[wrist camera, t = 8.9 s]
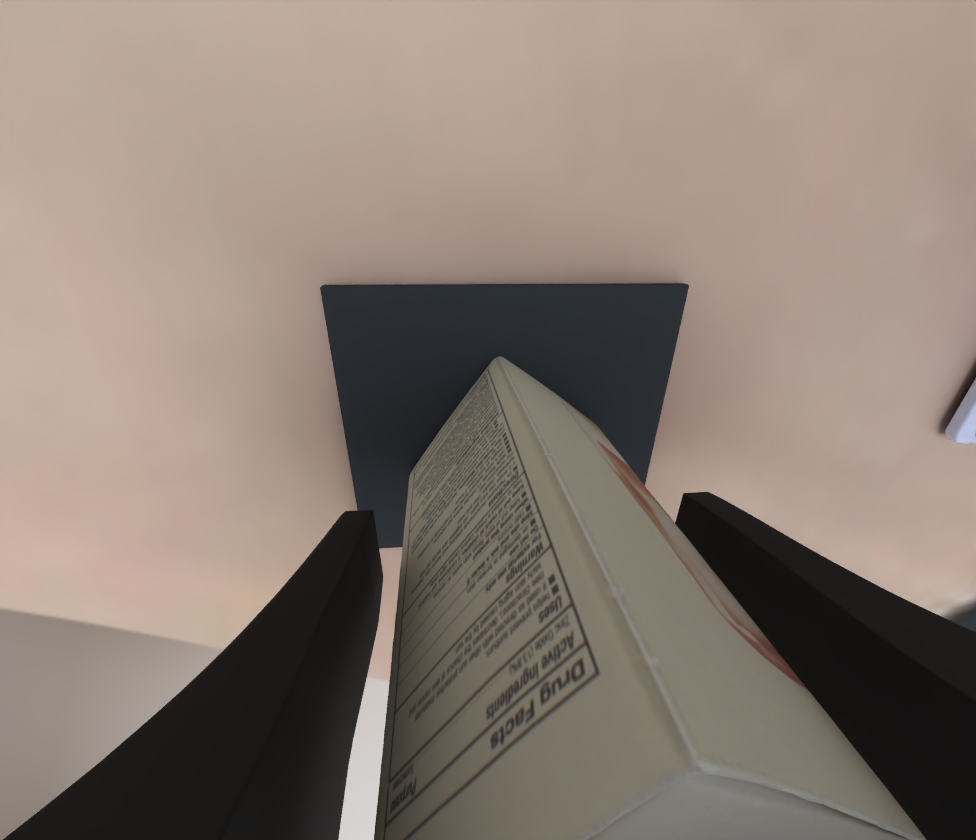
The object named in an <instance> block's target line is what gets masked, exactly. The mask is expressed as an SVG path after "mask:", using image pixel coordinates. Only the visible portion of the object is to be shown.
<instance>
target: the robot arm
mask: <svg viewBox="0 0 976 840" xmlns="http://www.w3.org/2000/svg"><path fill="white" fill-rule="evenodd" d="M945 434H946V437H947V438H948V439H949V440H952V441H954V442H956V443H960V444H968V443H976V378H975V380H974V382H973V383H972V385H971V387H970V389H969V390H968V392H967V394H966V395H965V397H964V399H963V401H962V402H961V404H960V406H959V407H958V409H957V411H956V413H955V414H954V416H953V418H952V419H951V421H950V423H949V425H948V426H947V428H946V431H945ZM675 524H676V525H677V527H678V528H679V529H680V530H681V531H682V533H683V534H684V535H685V536H686V538H687V539H688V540H689V541H690V542H691V544H692V545H693V546H694V548H695V549H696V550H697V551H698V553H699V554H700V555H701V556H702V558H703V559H704V560H705V561H706V563H707V564H708V565H709V566H710V568H711V569H712V570H713V571H714V573H715V574H716V575H717V576H718V578H719V579H720V580H721V581H722V583H723V584H724V585H725V586H726V588H727V589H728V590H729V591H730V593H731V594H732V595H733V596H734V598H735V599H736V600H737V601H738V603H739V604H740V605H741V606H742V608H743V609H744V610H745V611H746V613H747V614H748V615H749V616H750V618H751V619H752V620H753V621H754V623H755V624H756V625H757V626H758V628H759V629H760V630H761V631H762V633H763V634H764V635H765V637H766V638H767V639H768V640H769V642H770V643H771V644H772V645H773V647H774V648H775V649H776V650H777V652H778V653H779V654H780V655H781V657H782V658H783V659H784V660H785V662H786V663H787V664H788V665H789V667H790V668H791V669H792V670H793V672H794V673H795V674H796V675H797V677H798V678H799V679H800V680H801V682H802V683H803V684H804V686H805V687H806V688H807V689H808V691H809V692H810V693H811V694H812V695H813V697H814V698H815V699H816V700H817V702H818V703H819V704H820V705H821V707H822V708H823V709H824V710H825V711H826V713H827V714H828V715H829V716H830V718H831V719H832V720H833V722H834V723H835V724H836V725H837V727H838V728H839V729H840V730H841V732H842V733H843V734H844V736H845V737H846V738H847V739H848V741H849V742H850V743H851V744H852V746H853V747H854V748H855V749H856V751H857V752H858V753H859V754H860V756H861V757H862V758H863V759H864V761H865V762H866V763H867V764H868V766H869V767H870V768H871V769H872V771H873V772H874V773H875V774H876V776H877V777H878V778H879V779H880V781H881V782H882V783H883V784H884V786H885V787H886V788H887V789H888V791H889V792H890V793H891V794H892V796H893V797H894V798H895V800H896V801H897V802H898V803H899V805H900V806H901V807H902V809H903V810H904V811H905V812H906V814H907V815H908V816H909V818H910V819H911V820H912V821H913V823H914V824H915V825H916V827H917V828H918V829H919V830H920V832H921V833H922V834H923V836H924V837H925V839H926V840H976V632H974V631H971V630H969V629H967V628H965V627H962V626H960V625H958V624H956V623H954V622H952V621H949V620H947V619H945V618H943V617H941V616H939V615H937V614H935V613H932V612H930V611H928V610H926V609H924V608H922V607H920V606H918V605H915V604H913V603H911V602H909V601H907V600H905V599H903V598H901V597H899V596H897V595H895V594H893V593H891V592H889V591H887V590H885V589H883V588H881V587H879V586H877V585H875V584H873V583H871V582H870V581H868V580H866V579H864V578H862V577H860V576H858V575H856V574H854V573H852V572H851V571H849V570H847V569H845V568H843V567H841V566H839V565H838V564H836V563H834V562H832V561H830V560H828V559H827V558H825V557H823V556H821V555H819V554H818V553H816V552H814V551H812V550H811V549H809V548H807V547H805V546H803V545H802V544H800V543H798V542H796V541H795V540H793V539H791V538H789V537H788V536H786V535H784V534H783V533H781V532H779V531H777V530H776V529H774V528H772V527H770V526H769V525H767V524H765V523H764V522H762V521H760V520H758V519H757V518H755V517H753V516H752V515H750V514H748V513H746V512H745V511H743V510H741V509H739V508H738V507H736V506H734V505H732V504H730V503H729V502H727V501H725V500H723V499H721V498H719V497H717V496H715V495H713V494H711V493H709V492H698V493H684V494H683V497H682V501H681V504H680V508H679V512H678V515H677V519H676V522H675ZM382 584H383V572H382V565H381V558H380V552H379V545H378V538H377V531H376V524H375V518H374V511H373V510H361V511H345V512H344V513H343V514H342V515H341V516H340V517H339V519H338V520H337V521H336V522H335V524H334V525H333V526H332V528H331V529H330V530H329V531H328V533H327V534H326V535H325V537H324V538H323V539H322V540H321V542H320V543H319V544H318V545H317V547H316V548H315V549H314V550H313V552H312V553H311V554H310V555H309V557H308V558H307V559H306V560H305V561H304V563H303V564H302V565H301V566H300V567H299V569H298V570H297V571H296V572H295V573H294V574H293V576H292V577H291V578H290V579H289V580H288V582H287V583H286V584H285V585H284V586H283V587H282V589H281V590H280V591H279V592H278V593H277V594H276V595H275V597H274V598H273V599H272V600H271V601H270V602H269V603H268V604H267V605H266V606H265V607H264V608H263V610H262V611H261V612H260V613H259V614H258V615H257V616H256V617H255V618H254V619H253V620H252V621H251V622H250V624H249V625H248V626H247V627H246V628H245V629H244V630H243V631H242V632H241V633H240V634H239V635H238V636H237V637H236V638H235V639H234V640H233V641H232V642H231V643H230V644H229V645H228V646H227V647H226V648H225V650H224V651H223V652H222V653H221V654H220V655H218V656H217V657H216V659H214V660H213V661H212V662H211V663H210V664H209V665H208V666H207V667H206V668H205V669H204V670H203V671H202V672H201V673H200V674H199V675H198V676H197V677H196V678H195V679H194V680H192V682H190V683H189V684H188V685H187V686H186V687H185V688H184V689H183V690H182V691H181V692H180V693H179V694H177V695H176V696H175V697H174V698H173V699H172V700H171V701H170V702H169V703H167V704H166V705H165V706H164V707H163V708H162V709H161V710H159V711H158V712H157V713H156V714H155V715H154V716H153V717H152V718H151V719H150V720H148V721H147V722H146V723H145V724H144V725H143V726H141V727H140V728H139V729H138V730H137V731H136V732H135V733H133V734H132V735H131V736H130V737H129V738H127V739H126V740H125V741H124V742H123V743H122V744H121V745H120V746H118V747H117V748H116V749H115V750H114V751H112V752H111V753H110V754H109V755H108V756H107V757H106V758H105V759H103V760H102V761H101V762H100V763H98V764H97V765H96V766H95V767H94V768H92V769H91V770H90V771H89V772H87V773H86V774H85V775H84V776H82V777H81V778H80V779H79V780H78V781H76V782H75V783H74V784H72V785H71V786H70V787H69V788H67V789H66V790H65V791H64V792H62V793H61V794H60V795H59V796H57V797H56V798H55V799H54V800H52V801H51V802H50V803H49V804H47V805H46V806H45V807H44V808H43V809H41V810H40V811H39V812H37V813H36V814H35V815H34V816H32V817H31V818H30V819H29V820H28V821H26V822H25V823H24V824H23V825H21V826H20V827H18V828H17V829H16V830H15V831H13V832H12V833H11V834H9V835H8V836H7V837H6V838H4V839H3V840H338V837H339V830H340V822H341V814H342V808H343V800H344V792H345V786H346V778H347V771H348V764H349V759H350V753H351V748H352V742H353V737H354V732H355V728H356V723H357V719H358V714H359V709H360V705H361V701H362V696H363V691H364V687H365V682H366V678H367V673H368V669H369V664H370V659H371V655H372V650H373V646H374V641H375V636H376V631H377V627H378V622H379V613H380V604H381V594H382Z"/></svg>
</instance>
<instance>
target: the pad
mask: <svg viewBox="0 0 976 840" xmlns="http://www.w3.org/2000/svg"><path fill="white" fill-rule="evenodd" d="M688 288H689V285H687V284H470V285H323V286H321V287H320V289H321V295H322V301H323V307H324V313H325V319H326V325H327V331H328V337H329V343H330V349H331V355H332V361H333V366H334V372H335V378H336V384H337V390H338V396H339V402H340V408H341V414H342V420H343V426H344V432H345V438H346V443H347V449H348V455H349V461H350V467H351V473H352V479H353V485H354V491H355V497H356V503H357V509H358V511H361V510H373V511H374V518H375V524H376V531H377V538H378V545H379V548H393V547H403V538H404V527H405V516H406V507H407V497H408V485H409V476H410V474H411V472H412V470H413V469H414V467H415V466H416V464H417V463H418V461H419V460H420V459H421V457H422V456H423V454H424V453H425V451H426V450H427V448H428V447H429V445H430V444H431V443H432V441H433V440H434V438H435V437H436V435H437V434H438V433H439V431H440V430H441V428H442V427H443V426H444V424H445V423H446V422H447V420H448V419H449V417H450V416H451V415H452V413H453V412H454V410H455V409H456V408H457V406H458V405H459V404H460V402H461V401H462V400H463V398H464V397H465V396H466V394H467V393H468V392H469V390H470V389H471V388H472V386H473V385H474V384H475V383H476V381H477V380H478V379H479V377H480V376H481V375H482V373H483V372H484V371H485V370H486V368H487V367H488V366H489V364H490V363H491V362H492V360H494V359H495V358H496V357H499V356H501V357H503V358H505V359H507V360H508V361H510V362H511V363H512V364H514V365H515V366H517V367H518V368H520V369H521V370H523V371H524V372H525V373H527V374H528V375H530V376H531V377H533V378H534V379H535V380H537V381H538V382H540V383H541V384H543V385H544V386H545V387H547V388H548V389H550V390H551V391H552V392H554V393H555V394H556V395H558V396H559V397H561V398H562V399H563V400H565V401H566V402H567V403H569V404H570V405H571V406H573V407H574V408H575V409H577V410H578V411H579V412H581V413H582V414H583V415H585V416H586V417H587V418H589V419H590V420H591V421H593V422H594V423H595V424H596V425H597V426H598V428H599V429H600V430H601V431H602V432H603V434H604V435H605V436H606V438H607V439H608V440H609V442H610V443H611V444H612V445H613V447H614V448H615V449H616V450H617V452H618V453H619V454H620V455H621V457H622V458H623V459H624V460H625V462H626V463H627V464H628V465H629V467H630V468H631V469H632V470H633V472H634V473H635V474H636V475H637V477H638V478H639V479H640V481H641V482H642V483H643V484H644V486H645V481H646V477H647V472H648V468H649V463H650V459H651V454H652V450H653V445H654V441H655V436H656V432H657V427H658V423H659V418H660V414H661V409H662V405H663V400H664V396H665V391H666V387H667V382H668V378H669V373H670V369H671V364H672V360H673V355H674V351H675V346H676V342H677V337H678V333H679V328H680V324H681V319H682V315H683V310H684V306H685V301H686V297H687V292H688Z"/></svg>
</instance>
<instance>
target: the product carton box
mask: <svg viewBox="0 0 976 840" xmlns="http://www.w3.org/2000/svg"><path fill="white" fill-rule="evenodd" d="M385 725H386V726H385V733H384V745H383V746H384V747H383V756H382V764H381V775H380V786H379V796H378V805H377V814H376V824H375V835H374V840H926V839H925V837H924V836H923V834H922V833H921V832H920V830H919V829H918V828H917V827H916V825H915V824H914V823H913V821H912V820H911V819H910V818H909V816H908V815H907V814H906V812H905V811H904V810H903V809H902V807H901V806H900V805H899V803H898V802H897V801H896V800H895V798H894V797H893V796H892V794H891V793H890V792H889V791H888V789H887V788H886V787H885V786H884V784H883V783H882V782H881V781H880V779H879V778H878V777H877V776H876V774H875V773H874V772H873V771H872V769H871V768H870V767H869V766H868V764H867V763H866V762H865V761H864V759H863V758H862V757H861V756H860V754H859V753H858V752H857V751H856V749H855V748H854V747H853V746H852V744H851V743H850V742H849V741H848V739H847V738H846V737H845V736H844V734H843V733H842V732H841V730H840V729H839V728H838V727H837V725H836V724H835V723H834V722H833V720H832V719H831V718H830V716H829V715H828V714H827V713H826V711H825V710H824V709H823V708H822V707H821V705H820V704H819V703H818V702H817V700H816V699H815V698H814V697H813V695H812V694H811V693H810V692H809V691H808V689H807V688H806V687H805V686H804V684H803V683H802V682H801V680H800V679H799V678H798V677H797V675H796V674H795V673H794V672H793V670H792V669H791V668H790V667H789V665H788V664H787V663H786V662H785V660H784V659H783V658H782V657H781V655H780V654H779V653H778V652H777V650H776V649H775V648H774V647H773V645H772V644H771V643H770V642H769V640H768V639H767V638H766V637H765V635H764V634H763V633H762V631H761V630H760V629H759V628H758V626H757V625H756V624H755V623H754V621H753V620H752V619H751V618H750V616H749V615H748V614H747V613H746V611H745V610H744V609H743V608H742V606H741V605H740V604H739V603H738V601H737V600H736V599H735V598H734V596H733V595H732V594H731V593H730V591H729V590H728V589H727V588H726V586H725V585H724V584H723V583H722V581H721V580H720V579H719V578H718V576H717V575H716V574H715V573H714V571H713V570H712V569H711V568H710V566H709V565H708V564H707V563H706V561H705V560H704V559H703V558H702V556H701V555H700V554H699V553H698V551H697V550H696V549H695V548H694V546H693V545H692V544H691V542H690V541H689V540H688V539H687V538H686V536H685V535H684V534H683V533H682V531H681V530H680V529H679V528H678V527H677V525H676V524H675V523H674V522H673V520H672V519H671V518H670V516H669V515H668V514H667V513H666V511H665V510H664V509H663V508H662V507H661V505H660V504H659V503H658V502H657V501H656V499H655V498H654V497H653V496H652V494H651V493H650V492H649V491H648V489H647V488H646V487H645V486H644V484H643V483H642V482H641V481H640V479H639V478H638V477H637V475H636V474H635V473H634V472H633V470H632V469H631V468H630V467H629V465H628V464H627V463H626V462H625V460H624V459H623V458H622V457H621V455H620V454H619V453H618V452H617V450H616V449H615V448H614V447H613V445H612V444H611V443H610V442H609V440H608V439H607V438H606V436H605V435H604V434H603V432H602V431H601V430H600V429H599V428H598V426H597V425H596V424H595V423H594V422H593V421H591V420H590V419H589V418H587V417H586V416H585V415H583V414H582V413H581V412H579V411H578V410H577V409H575V408H574V407H573V406H571V405H570V404H569V403H567V402H566V401H565V400H563V399H562V398H561V397H559V396H558V395H556V394H555V393H554V392H552V391H551V390H550V389H548V388H547V387H545V386H544V385H543V384H541V383H540V382H538V381H537V380H535V379H534V378H533V377H531V376H530V375H528V374H527V373H525V372H524V371H523V370H521V369H520V368H518V367H517V366H515V365H514V364H512V363H511V362H510V361H508V360H507V359H505V358H503V357H501V356H499V357H496V358H495V359H494V360H492V362H491V363H490V364H489V366H488V367H487V368H486V370H485V371H484V372H483V373H482V375H481V376H480V377H479V379H478V380H477V381H476V383H475V384H474V385H473V386H472V388H471V389H470V390H469V392H468V393H467V394H466V396H465V397H464V398H463V400H462V401H461V402H460V404H459V405H458V406H457V408H456V409H455V410H454V412H453V413H452V415H451V416H450V417H449V419H448V420H447V422H446V423H445V424H444V426H443V427H442V428H441V430H440V431H439V433H438V434H437V435H436V437H435V438H434V440H433V441H432V443H431V444H430V445H429V447H428V448H427V450H426V451H425V453H424V454H423V456H422V457H421V459H420V460H419V461H418V463H417V464H416V466H415V467H414V469H413V470H412V472H411V474H410V476H409V485H408V497H407V507H406V516H405V527H404V538H403V550H402V560H401V569H400V579H399V591H398V601H397V612H396V620H395V632H394V641H393V650H392V663H391V675H390V684H389V696H388V704H387V714H386V724H385Z"/></svg>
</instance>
